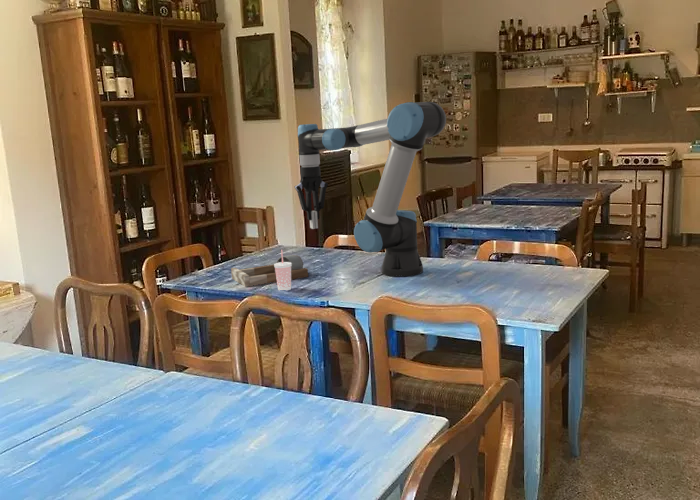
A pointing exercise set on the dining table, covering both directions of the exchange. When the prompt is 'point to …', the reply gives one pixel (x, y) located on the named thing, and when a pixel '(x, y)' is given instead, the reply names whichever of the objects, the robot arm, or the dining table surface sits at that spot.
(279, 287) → the beverage cup
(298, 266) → the ceramic mug
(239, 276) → the guide channel
